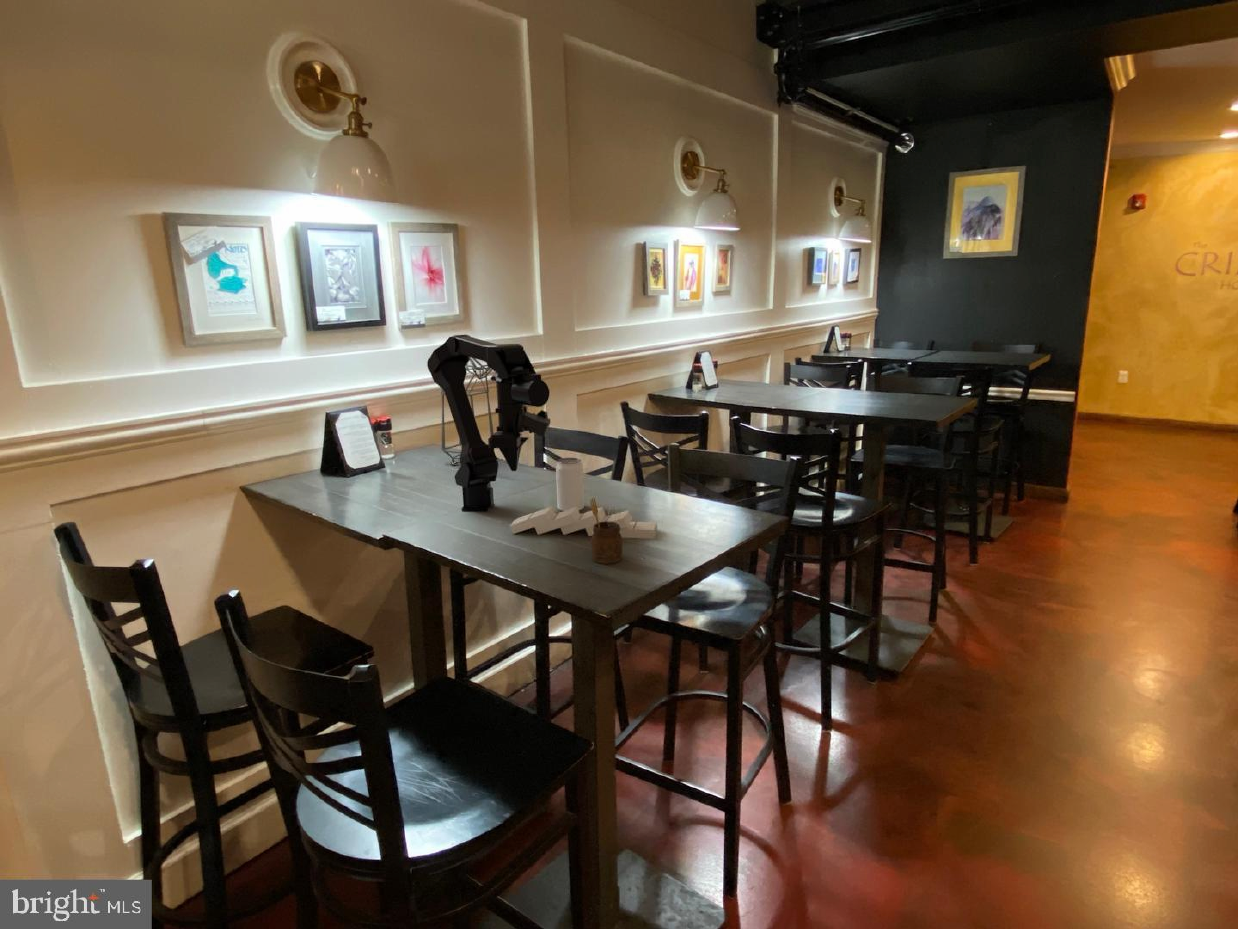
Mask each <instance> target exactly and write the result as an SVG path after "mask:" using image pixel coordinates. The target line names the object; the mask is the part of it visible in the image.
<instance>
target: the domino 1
mask: <svg viewBox="0 0 1238 929" xmlns="http://www.w3.org/2000/svg"><path fill="white" fill-rule="evenodd" d="M555 514H556V512H555V510H554V507H553V506H552V505H551V506H549V507H546V508H543V509H540V510H537V511H534V512H532V513H528V514H526V515H522V516H520V517H518V518H515V519H514V520H513V522H511V524H509V528H510V530H511V533H512V534H513V535H514V534H517V533H521V532H523V531H527V530H529V529H532V528H535V526H538V525H541V524H544V523H547V522H550V521H551V519H552V518H553V517H554V516H555Z"/></svg>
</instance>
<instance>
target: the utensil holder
mask: <svg viewBox="0 0 1238 929" xmlns="http://www.w3.org/2000/svg"><path fill="white" fill-rule="evenodd" d="M589 501H590V507H591V508H590V509H591V511H592V512H593V515H595V517H596V521H597V523H596V524H595V525H594V527H593V532H594V534H593V535H592V536H591V555H592V556H591V557H592V559H593V561H594V562H596V563H598V564H603V565H610V564H611V565H612V564H616V563H618V562H620V561H621V560H622V557H623V537H621V534H620V533H619V532H620V526H619V524H618V522H617V523H615V522H609V521H605V522H599V521H598V517H597V514H598V505H597V502H596V498H595V497H593V498H591V499H590V500H589ZM613 509H614V510H615V511H614V512H615V513H613ZM609 510H612V511H611V512H610V511H607V513H608V514H607V515H606V516H607V518H608V516H609V514H617V511H618V513H619V515H620V509H619V508H618V507H617V506H616V507H614V506H612V507H610V508H609ZM616 516H617V515H616ZM610 517H611V516H610ZM618 519H619V517H618ZM611 521H612V518H611ZM614 521H616V520H614ZM618 521H619V520H618Z"/></svg>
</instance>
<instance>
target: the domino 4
mask: <svg viewBox="0 0 1238 929" xmlns="http://www.w3.org/2000/svg"><path fill="white" fill-rule="evenodd" d="M616 515H617V516H616ZM607 516H608V518H607ZM610 516H611V517H610ZM618 517H619V519H618ZM611 518H612V521H611ZM614 520H616V521H614ZM618 520H619V521H618ZM632 520H633V516H632V513H631V511H630V509H628V510H625V511H622V512H620V515H619V512H616V514H615V513H612V514H610V515H605V517H604V519H603V521H602V522H605V521H609V522H615V523H617V522H618V524H619V526H620V528H624V527H627V526H628V524H629V523H630V522H632ZM593 527H594V525H592V526H589V527H586V528H585V530H586V533H587V536H588V537H592V536H593V534H594V532H593Z"/></svg>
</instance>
